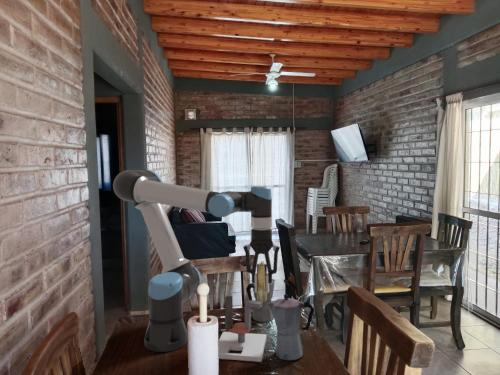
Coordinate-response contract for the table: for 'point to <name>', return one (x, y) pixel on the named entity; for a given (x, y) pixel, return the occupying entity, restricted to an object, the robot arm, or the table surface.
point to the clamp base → (242, 346)
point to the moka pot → (289, 326)
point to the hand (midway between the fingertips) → (262, 291)
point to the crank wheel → (239, 327)
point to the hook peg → (261, 282)
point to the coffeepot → (264, 312)
